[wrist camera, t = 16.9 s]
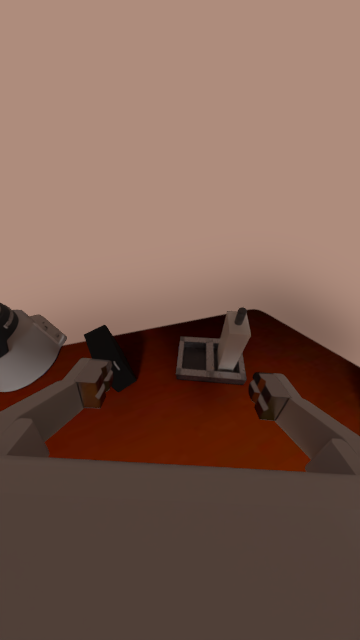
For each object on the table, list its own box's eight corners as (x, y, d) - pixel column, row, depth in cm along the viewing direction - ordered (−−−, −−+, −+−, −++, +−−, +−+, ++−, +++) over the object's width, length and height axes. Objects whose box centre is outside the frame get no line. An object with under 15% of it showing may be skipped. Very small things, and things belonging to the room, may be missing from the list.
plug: (231, 372, 34) (257, 321, 21) (217, 371, 34) (233, 320, 21) (229, 353, 37) (251, 298, 24) (216, 352, 37) (230, 297, 24)
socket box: (242, 385, 32) (246, 380, 30) (176, 379, 34) (175, 374, 32) (237, 346, 38) (240, 340, 36) (181, 342, 39) (180, 336, 37)
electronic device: (120, 348, 39) (104, 322, 32) (137, 381, 34) (122, 360, 26) (104, 357, 38) (82, 332, 30) (119, 393, 32) (97, 374, 25)
